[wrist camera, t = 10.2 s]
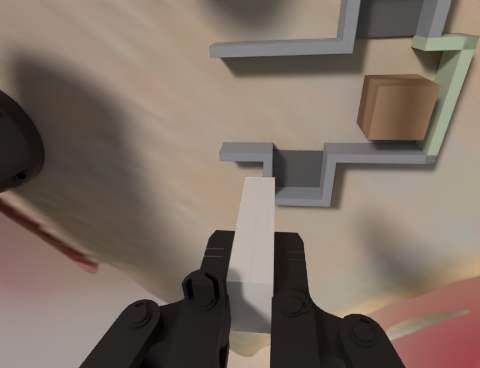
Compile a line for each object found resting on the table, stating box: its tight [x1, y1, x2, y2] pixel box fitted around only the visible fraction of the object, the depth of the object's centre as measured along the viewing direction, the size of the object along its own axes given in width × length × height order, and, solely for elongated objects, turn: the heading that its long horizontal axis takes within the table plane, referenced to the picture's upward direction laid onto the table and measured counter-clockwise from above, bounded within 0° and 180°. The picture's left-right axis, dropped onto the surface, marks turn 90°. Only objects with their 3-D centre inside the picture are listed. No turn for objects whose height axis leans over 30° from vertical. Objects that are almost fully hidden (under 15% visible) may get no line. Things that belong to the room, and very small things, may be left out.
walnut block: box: [357, 74, 441, 140], centre depth 28 cm, size 5×5×5 cm
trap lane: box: [209, 0, 479, 207], centre depth 29 cm, size 23×24×3 cm
